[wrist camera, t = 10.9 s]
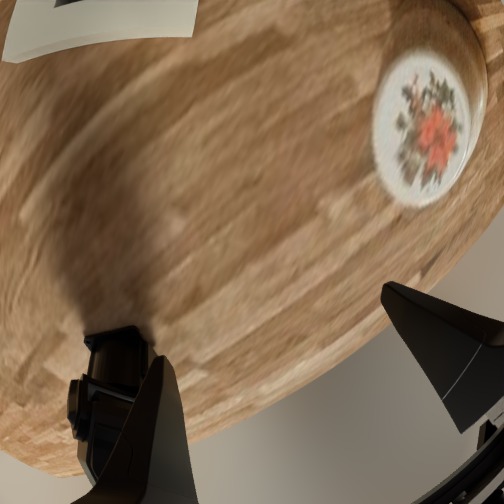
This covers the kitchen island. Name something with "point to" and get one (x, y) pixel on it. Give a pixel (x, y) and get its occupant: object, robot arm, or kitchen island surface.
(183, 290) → the kitchen island surface
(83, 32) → the socket box
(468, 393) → the robot arm
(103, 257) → the kitchen island surface
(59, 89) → the kitchen island surface
